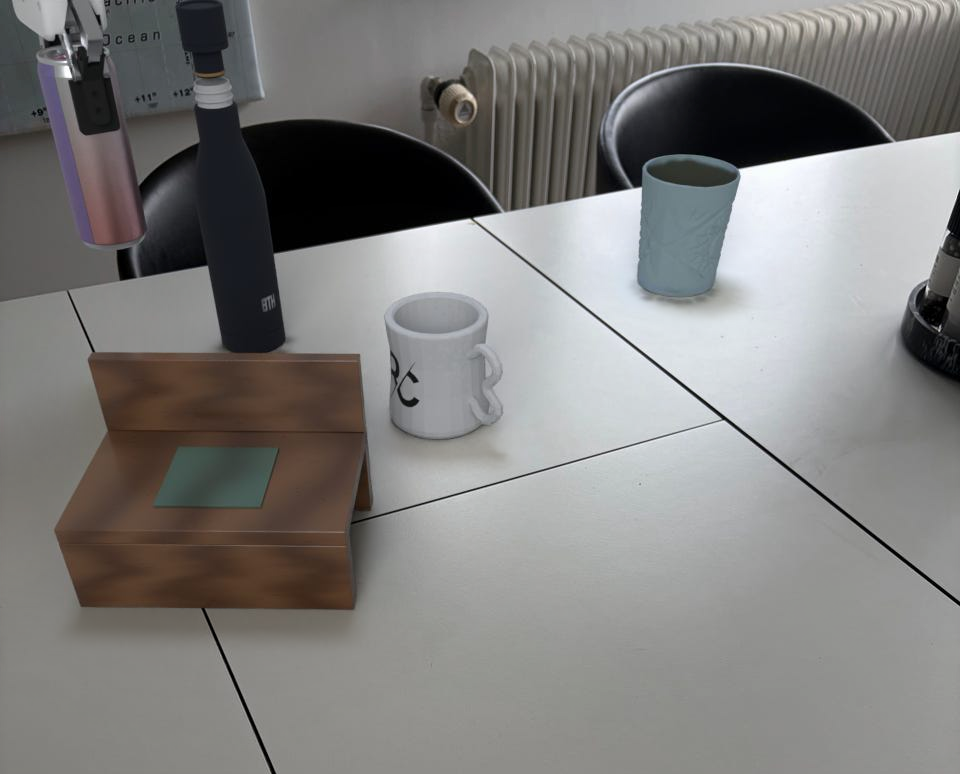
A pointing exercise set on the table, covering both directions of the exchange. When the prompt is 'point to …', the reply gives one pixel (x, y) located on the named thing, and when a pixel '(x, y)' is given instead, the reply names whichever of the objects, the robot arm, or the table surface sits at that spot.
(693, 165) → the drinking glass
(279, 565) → the shelf
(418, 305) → the mug
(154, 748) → the table surface
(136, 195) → the beverage can
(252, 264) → the dark bottle
